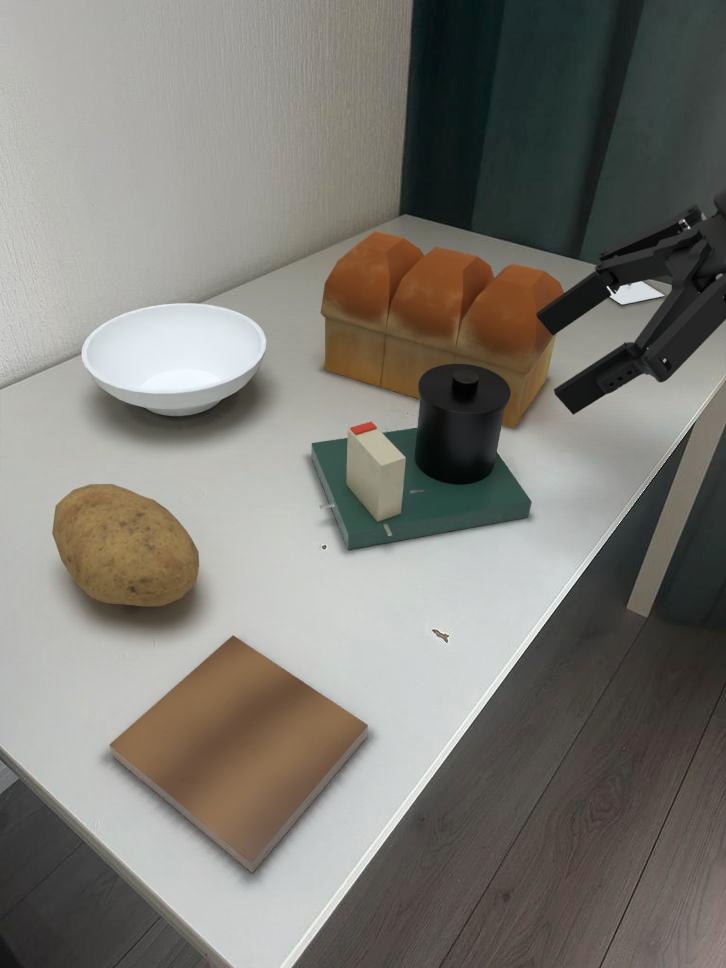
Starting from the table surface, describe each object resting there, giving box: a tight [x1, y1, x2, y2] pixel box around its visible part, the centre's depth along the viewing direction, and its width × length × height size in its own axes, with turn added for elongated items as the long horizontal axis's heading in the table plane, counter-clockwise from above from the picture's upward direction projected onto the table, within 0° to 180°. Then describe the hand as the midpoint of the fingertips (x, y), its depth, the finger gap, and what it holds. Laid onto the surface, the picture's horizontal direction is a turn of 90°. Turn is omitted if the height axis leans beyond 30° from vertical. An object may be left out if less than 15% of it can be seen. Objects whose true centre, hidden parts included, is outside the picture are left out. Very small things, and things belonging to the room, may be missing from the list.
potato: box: [51, 483, 200, 607], centre depth 63 cm, size 10×14×8 cm
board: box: [109, 634, 369, 874], centre depth 54 cm, size 13×12×2 cm
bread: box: [320, 230, 565, 429], centre depth 89 cm, size 25×12×15 cm, turn 63°
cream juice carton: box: [346, 421, 406, 522], centre depth 70 cm, size 6×2×7 cm, turn 29°
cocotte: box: [415, 364, 511, 485], centre depth 74 cm, size 9×9×10 cm
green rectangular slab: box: [310, 427, 533, 551], centre depth 76 cm, size 15×20×2 cm
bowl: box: [81, 302, 267, 417], centre depth 86 cm, size 20×20×7 cm
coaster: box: [607, 281, 665, 305], centre depth 114 cm, size 8×8×1 cm
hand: (552, 360), depth 70 cm, fingers open, 13 cm apart
